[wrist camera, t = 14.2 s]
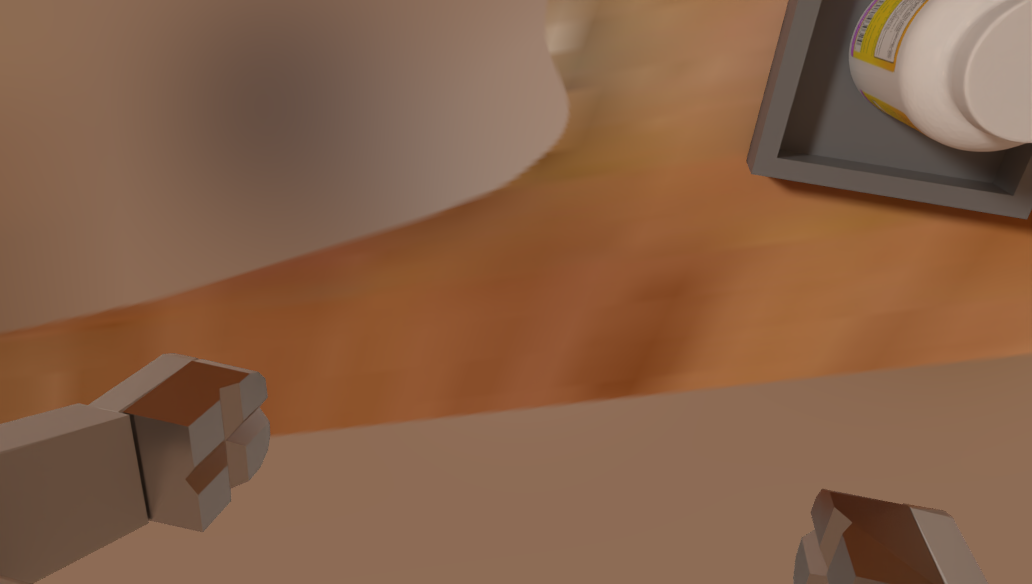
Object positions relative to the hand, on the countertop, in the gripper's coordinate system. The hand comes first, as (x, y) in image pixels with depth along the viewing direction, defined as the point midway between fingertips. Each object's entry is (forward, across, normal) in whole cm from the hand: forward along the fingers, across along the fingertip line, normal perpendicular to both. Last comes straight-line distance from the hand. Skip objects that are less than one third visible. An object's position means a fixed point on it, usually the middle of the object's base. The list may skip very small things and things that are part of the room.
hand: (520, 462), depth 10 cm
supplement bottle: (+30, -13, -5) cm, 34 cm away
